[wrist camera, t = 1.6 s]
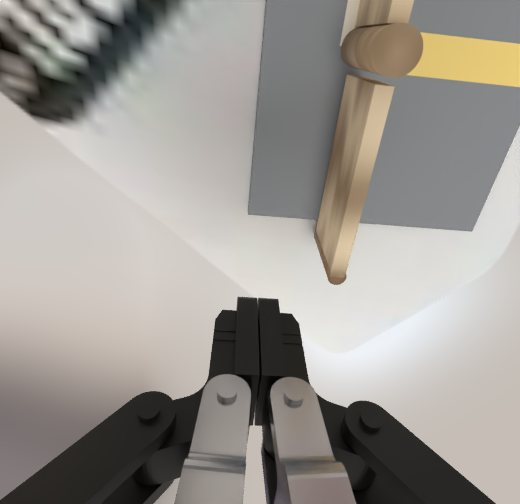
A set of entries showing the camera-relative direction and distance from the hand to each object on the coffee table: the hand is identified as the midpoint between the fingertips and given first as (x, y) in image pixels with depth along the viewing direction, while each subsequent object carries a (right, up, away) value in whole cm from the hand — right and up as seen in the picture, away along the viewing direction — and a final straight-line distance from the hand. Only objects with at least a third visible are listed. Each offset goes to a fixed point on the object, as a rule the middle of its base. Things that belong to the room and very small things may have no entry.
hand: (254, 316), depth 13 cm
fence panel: (+6, +9, +13) cm, 16 cm away
